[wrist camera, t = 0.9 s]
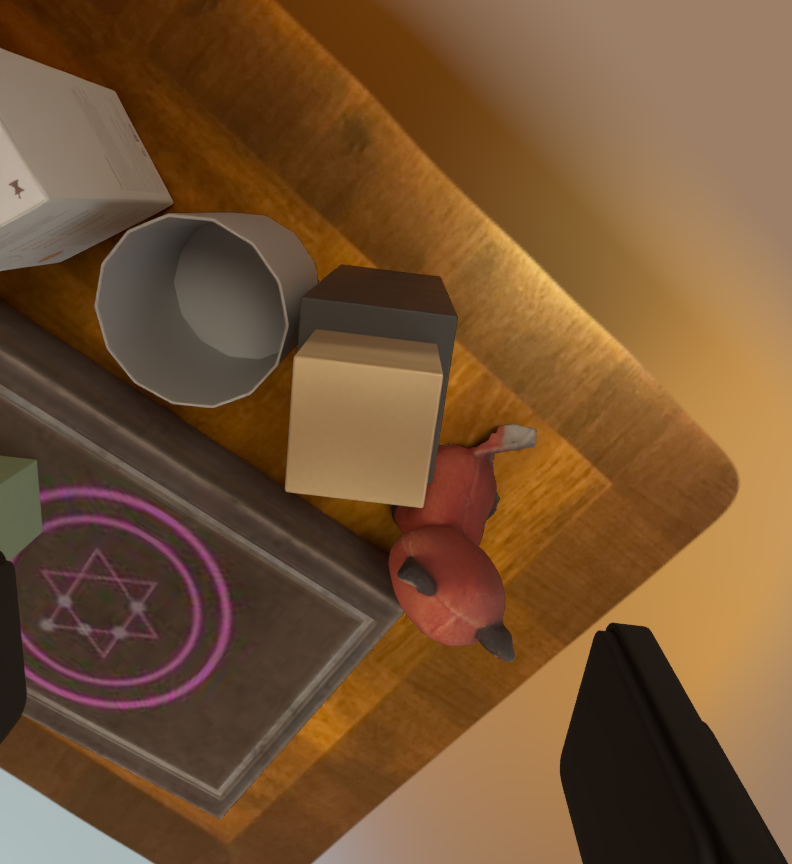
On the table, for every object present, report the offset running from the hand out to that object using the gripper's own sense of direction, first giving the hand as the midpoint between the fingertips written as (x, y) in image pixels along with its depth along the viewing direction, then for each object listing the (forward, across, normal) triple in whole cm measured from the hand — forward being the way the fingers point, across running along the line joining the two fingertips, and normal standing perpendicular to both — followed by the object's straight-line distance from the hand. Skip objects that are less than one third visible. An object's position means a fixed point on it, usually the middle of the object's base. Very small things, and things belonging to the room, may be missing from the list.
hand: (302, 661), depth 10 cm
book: (+29, +15, +18) cm, 37 cm away
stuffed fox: (+29, -6, +9) cm, 31 cm away
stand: (+29, 0, 0) cm, 29 cm away
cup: (+29, +8, -1) cm, 30 cm away
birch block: (+15, 0, 0) cm, 15 cm away
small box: (+29, +17, -6) cm, 34 cm away
